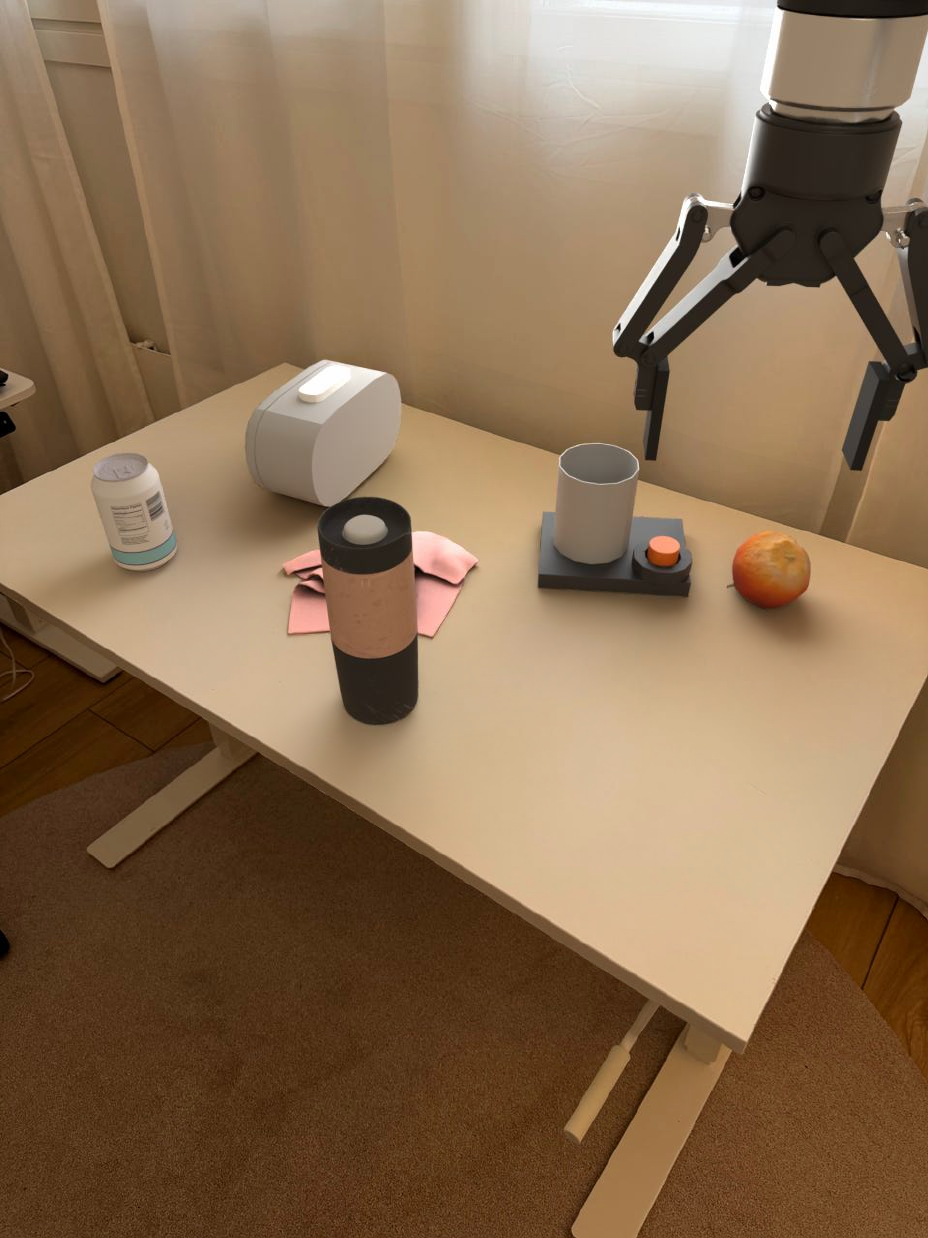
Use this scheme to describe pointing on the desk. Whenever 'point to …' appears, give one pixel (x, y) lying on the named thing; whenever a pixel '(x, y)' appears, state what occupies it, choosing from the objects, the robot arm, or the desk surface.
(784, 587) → the fruit
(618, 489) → the cup
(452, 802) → the desk surface
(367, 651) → the travel mug
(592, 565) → the scale
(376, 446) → the alarm clock
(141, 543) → the beverage can
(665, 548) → the button
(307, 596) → the cloth
